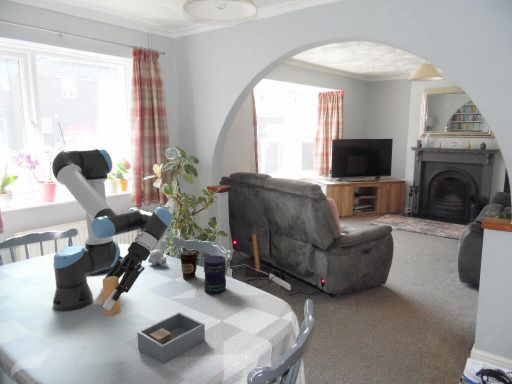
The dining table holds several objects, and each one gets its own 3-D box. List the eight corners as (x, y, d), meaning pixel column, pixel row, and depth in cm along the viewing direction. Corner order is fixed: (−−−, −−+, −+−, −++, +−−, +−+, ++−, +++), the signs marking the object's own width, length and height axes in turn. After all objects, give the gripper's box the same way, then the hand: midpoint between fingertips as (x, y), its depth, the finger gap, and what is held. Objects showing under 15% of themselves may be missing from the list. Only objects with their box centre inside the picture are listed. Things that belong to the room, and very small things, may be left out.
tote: (163, 364, 117) (162, 346, 116) (138, 348, 125) (137, 331, 125) (204, 340, 130) (204, 324, 129) (180, 327, 139) (179, 312, 138)
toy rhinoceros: (159, 274, 197) (162, 261, 193) (145, 261, 202) (148, 248, 199) (169, 269, 202) (173, 257, 199) (156, 257, 208) (159, 245, 205)
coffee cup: (194, 281, 180) (193, 256, 178) (178, 280, 182) (177, 254, 179) (200, 275, 188) (199, 250, 186) (185, 273, 190) (184, 249, 188)
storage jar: (208, 296, 164) (207, 264, 161) (201, 288, 172) (200, 257, 170) (229, 292, 168) (229, 260, 166) (221, 284, 177) (220, 254, 174)
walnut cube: (159, 353, 121) (158, 339, 120) (150, 348, 124) (149, 334, 123) (172, 347, 124) (171, 333, 124) (162, 341, 128) (162, 328, 127)
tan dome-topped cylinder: (104, 316, 125) (101, 282, 123) (105, 309, 130) (103, 277, 128) (119, 314, 126) (117, 281, 124) (121, 308, 131) (119, 275, 129)
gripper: (121, 236, 137) (80, 293, 128) (150, 246, 126) (107, 309, 116) (135, 246, 142) (96, 302, 133) (164, 257, 131) (124, 319, 121)
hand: (101, 305), depth 124 cm, fingers closed on tan dome-topped cylinder, 5 cm apart
